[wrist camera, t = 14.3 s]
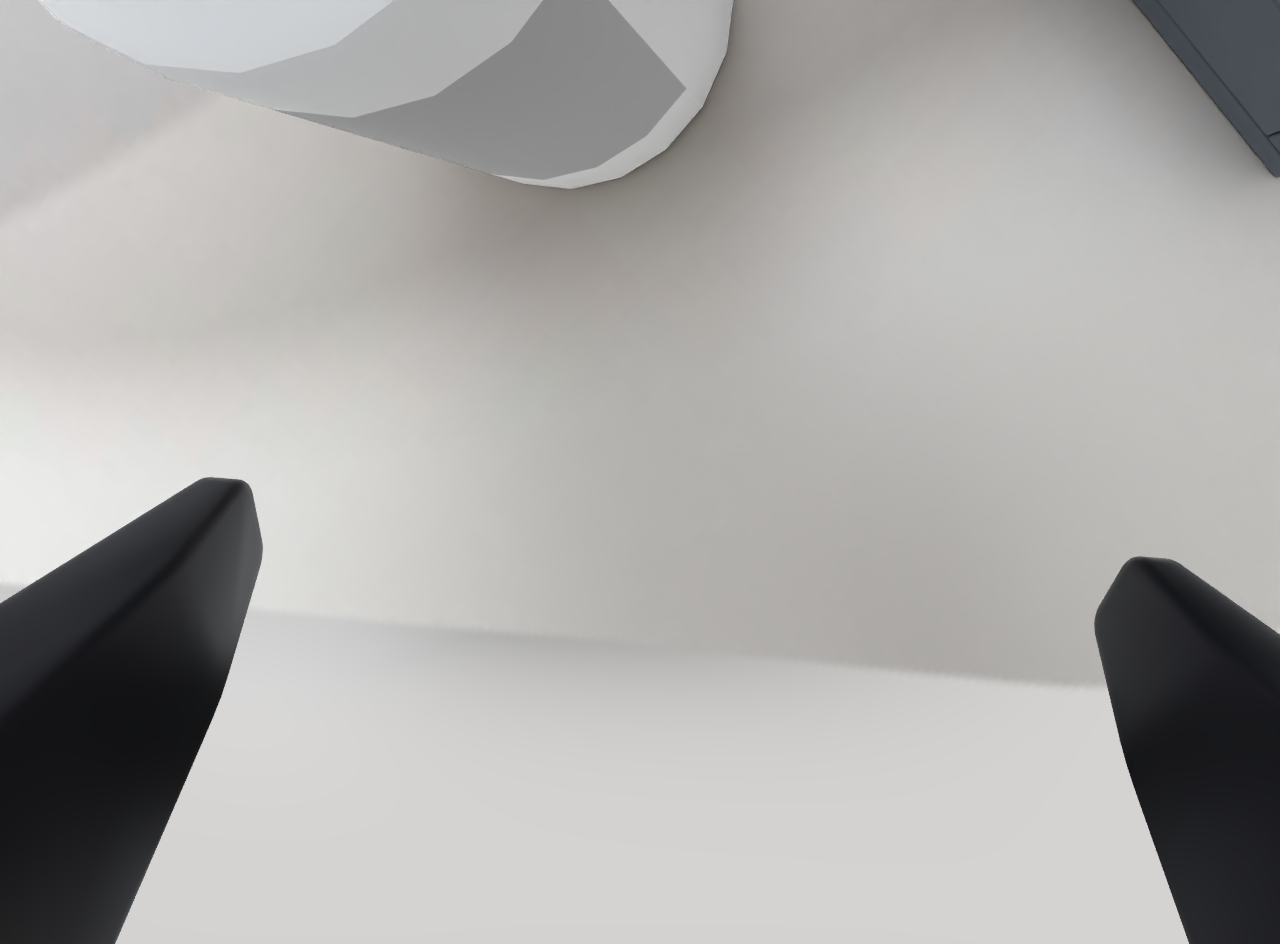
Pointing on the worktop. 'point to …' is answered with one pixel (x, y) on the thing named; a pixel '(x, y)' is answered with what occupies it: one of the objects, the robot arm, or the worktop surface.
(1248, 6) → the bin
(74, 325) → the worktop surface
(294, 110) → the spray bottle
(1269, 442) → the worktop surface
